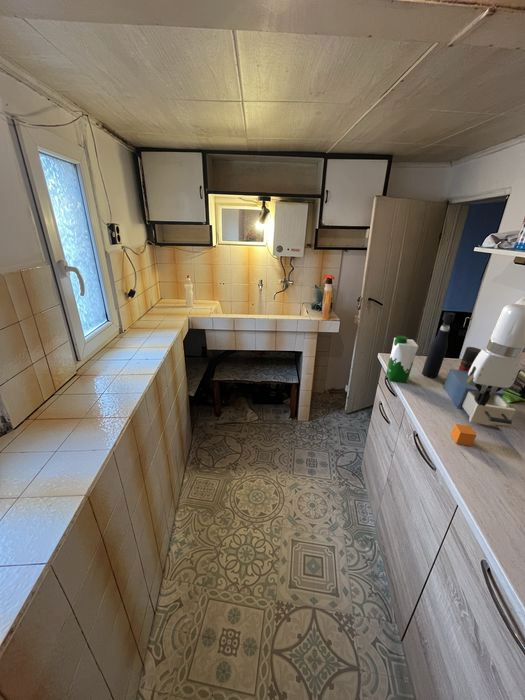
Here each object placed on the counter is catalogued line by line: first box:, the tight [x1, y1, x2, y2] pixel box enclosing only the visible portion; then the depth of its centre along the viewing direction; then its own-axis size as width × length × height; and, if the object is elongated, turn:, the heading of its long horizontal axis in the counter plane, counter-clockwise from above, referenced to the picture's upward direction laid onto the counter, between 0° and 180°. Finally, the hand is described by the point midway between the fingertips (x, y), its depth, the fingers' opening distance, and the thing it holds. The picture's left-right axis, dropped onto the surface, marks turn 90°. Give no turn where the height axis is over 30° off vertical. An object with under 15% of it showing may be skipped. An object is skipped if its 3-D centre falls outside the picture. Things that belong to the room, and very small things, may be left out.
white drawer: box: [461, 390, 517, 427], centre depth 100 cm, size 19×11×7 cm, turn 167°
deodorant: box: [457, 346, 482, 371], centre depth 125 cm, size 6×6×15 cm
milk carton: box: [385, 334, 420, 384], centre depth 122 cm, size 9×9×20 cm
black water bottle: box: [421, 311, 456, 379], centre depth 124 cm, size 6×6×30 cm
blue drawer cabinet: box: [443, 368, 505, 410], centre depth 111 cm, size 16×13×9 cm
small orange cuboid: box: [450, 423, 478, 447], centre depth 90 cm, size 4×4×4 cm
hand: (479, 402), depth 86 cm, fingers closed
